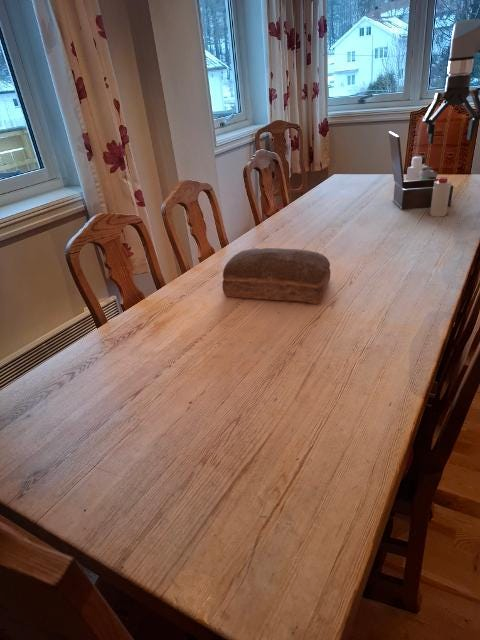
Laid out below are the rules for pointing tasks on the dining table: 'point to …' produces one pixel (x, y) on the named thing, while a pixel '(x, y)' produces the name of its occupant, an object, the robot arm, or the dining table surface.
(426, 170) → the food container
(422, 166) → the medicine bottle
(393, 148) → the lid
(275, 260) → the bread
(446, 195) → the bottle
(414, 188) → the open box
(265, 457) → the dining table surface
